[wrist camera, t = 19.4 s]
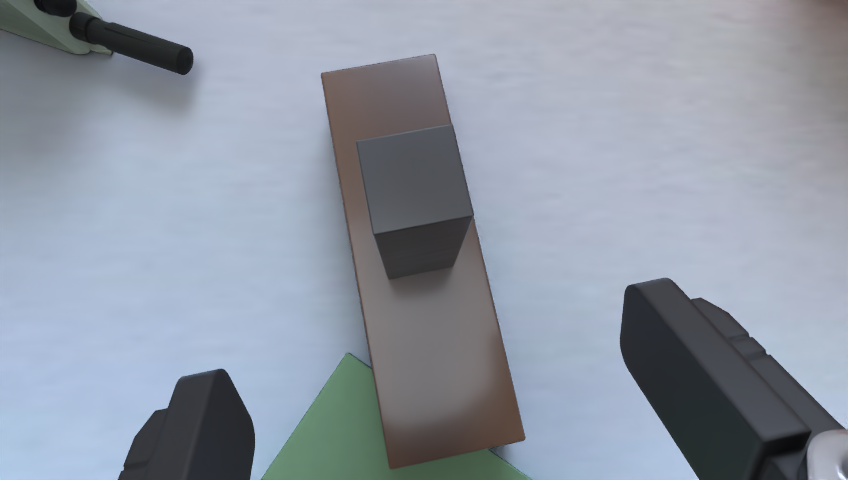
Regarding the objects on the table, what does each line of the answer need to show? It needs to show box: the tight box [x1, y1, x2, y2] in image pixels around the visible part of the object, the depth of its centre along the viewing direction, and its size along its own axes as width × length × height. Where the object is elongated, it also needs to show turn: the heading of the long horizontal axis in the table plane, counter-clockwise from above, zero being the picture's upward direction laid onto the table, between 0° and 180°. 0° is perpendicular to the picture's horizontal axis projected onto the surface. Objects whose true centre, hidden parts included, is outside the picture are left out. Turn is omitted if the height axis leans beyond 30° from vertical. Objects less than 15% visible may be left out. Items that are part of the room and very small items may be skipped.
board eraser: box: [321, 54, 525, 470], centre depth 18 cm, size 5×16×10 cm, turn 11°
